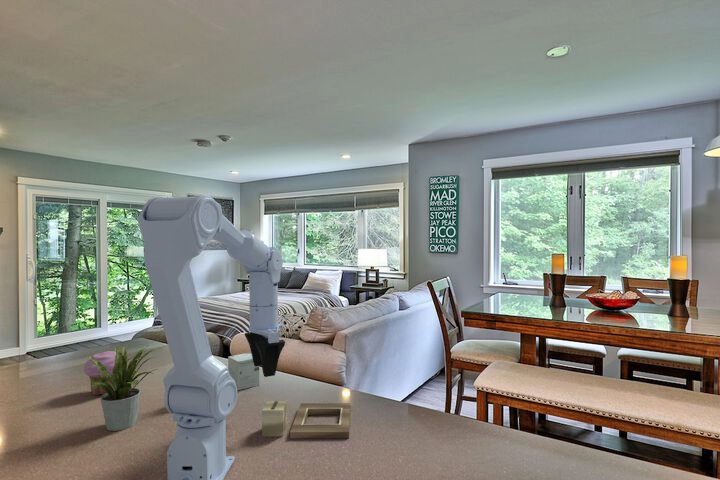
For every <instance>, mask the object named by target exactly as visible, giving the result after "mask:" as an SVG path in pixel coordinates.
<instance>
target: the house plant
mask: <svg viewBox="0 0 720 480" xmlns="http://www.w3.org/2000/svg"><path fill="white" fill-rule="evenodd" d="M148 347H149V344H147V345H145V346H143V347H142V348H140V349H139V351H137V353H136V354H135V356H132V357H130V358H128V352H127V349H126V346H125V345H124V343H121V348H122V349H121V348H120V347H117V348H116V347H115V346H113V345H112V348H113V349H114V351H115V352H116V356H115V365H114V367H113V370H112V372H113V377H114V379H113V378H112V377H111V375H110V374H109V372H108V371H107V369H106V368H105V367H104V365H103V364H102V363H100V362H99V361H97V360H96V359H93V358H91V357H92V356H86V355H84V357H85V358H88V360H89V359H91V360H92V361H93V362H94V363H95V364H96V365H97V366H98V367H99V368H100V369H99V368H98V367H97V366H95V365H93V366H95V367H96V368H98V369H99V370H100V371H101V372H103V374H104V375H105V376H106V377H107V378H108V380H109V381H110V383H111V384H112V385H113V387H114V388H115V390H114V389H113V388H112V386H111V385H110V384H109V383H108V382H107V381H106V379H105V378H104V377H103V376H102V375H101V374H100V373H98V372H97V373H98V375H99V379H100V380H101V381H102V382H103V383H102V382H100V381H93V382H91V381H90V382H89V383H90V385H91V384H93V386H92V387H95V386H99V387H101V388H103V389H104V390H105V391H106V392H107V393H106V394H101V397H100V403H101V408H102V413H103V417H104V422H105V427H106V429H107V431H113V432H119V431H123V430H126V429H129V428H131V427H133V426H135V425H136V424H137V419H138V412H139V406H140V400H141V395H142V394H141V393H142V390H141V389H140V388H137V385H138V384H140V382H142V380H143V379H144V378H146V377H147V376H148V375H149V374H152V375H154V373H153V372H155V371H156V370H158V371H159V368H157V369H156V368H155V369H152V370H150V371H142V372H140V373H138V371H139V370H140V368H141V367H142V366H143V364H145V363H146V362H148V361H149V360H151V359H155V358H157V357H149V358H147V359H146V360H144V361H143V362H142V363H140V362H141V361H142V360H143V359H144V358H145V357H146V356H147V355H149V354H150V353H152V352H154V351H157V350H160V349H161V350H162V349H163V347H160V348H155V349H151V350H148V351H146V349H147V348H148ZM145 352H146V353H145ZM130 360H131V361H130ZM128 361H130V362H129V363H128ZM91 365H92V364H91ZM137 367H138V368H137ZM136 373H138V374H136ZM142 375H144V376H142ZM140 376H142V377H141V379H139V380H138V378H139V377H140ZM92 387H91V386H90V389H91V388H92Z"/></svg>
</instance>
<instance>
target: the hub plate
mask: <svg viewBox="0 0 720 480" xmlns="http://www.w3.org/2000/svg"><path fill="white" fill-rule="evenodd" d="M351 411H352V403H351V402H333V403H332V402H330V403H329V402H327V403H326V402H324V403H323V402H322V403H320V402H319V403H316V402H315V403H311V402H310V403H309V402H308V403H302V402H301V403H300V405H299V407H298V410H297V412H296V415H295V417H294V421H293V423H292V426H291V429H290V430H289V438H290V439H350V428H351ZM318 415H319V416H323V415H324V416H328V415H329V416H331V415H332V416H333V415H337V416H338V415H339V422H338V423H306V422H307V421H308V417H309V416H318Z"/></svg>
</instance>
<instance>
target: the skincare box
mask: <svg viewBox="0 0 720 480" xmlns="http://www.w3.org/2000/svg"><path fill="white" fill-rule="evenodd" d="M227 367H228V370H229V374H230V376H231V377H232V378H233V379H234V381H235V383H236V386H237V391H242V390H245V389H248V388H253V387H257V386H260V366H256V367H255V366H254V363H253V359H252V354H251V351H250V352H245V353H238V354H235V355H230V356H228V357H227Z"/></svg>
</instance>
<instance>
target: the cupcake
mask: <svg viewBox="0 0 720 480" xmlns="http://www.w3.org/2000/svg"><path fill="white" fill-rule="evenodd" d="M115 356H116V351H115V350H113V351H112V350H109V351H103V352H98V353H95V354H93V355H92V356H90V357H91V358H93V359H96V360H97V361H99V362H100V363H102V364H103V365H104V367H105V368H106V369H107V371H108V372H109V374H110V375H111V377H112V378H113V379H114V377H113V372H112V370H113V367H114V365H115ZM91 364H92V365H91ZM93 365H95V366H97V365H96V364H95V363H94V362H93V361H92V360H91V359H89V358H88V359H87V361H86V362H85V364H84V369H83V372H84V374H86V375H87V376H89V377H88V378H89V380H90V382H93V381H100V382H102V381H101V380H100V379H99V375H98V373H100V374H101V375H102V376H103V377H104V378H105V379H106V381H107V382H108V383H109V384H110V385H111V386H112V388H113V389H114V390H115V388H114V387H113V385H112V384H111V383H110V381H109V380H108V378H107V377H106V376H105V375H104V374H103V372H101V371H100V370H99V369H100V368H99V367H98V366H97V367H98V368H99V369H98V368H96V367H95V366H93ZM97 372H98V373H97ZM102 383H103V382H102ZM92 386H93V384H91V383H90V390H91V393H92V394H93V395H95V396H97V395H98V396H99V395H104V394H106V393H107V392H106V391H105V390H104V389H103V388H101V387H99V386H95V387H92ZM91 387H92V388H91Z"/></svg>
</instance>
